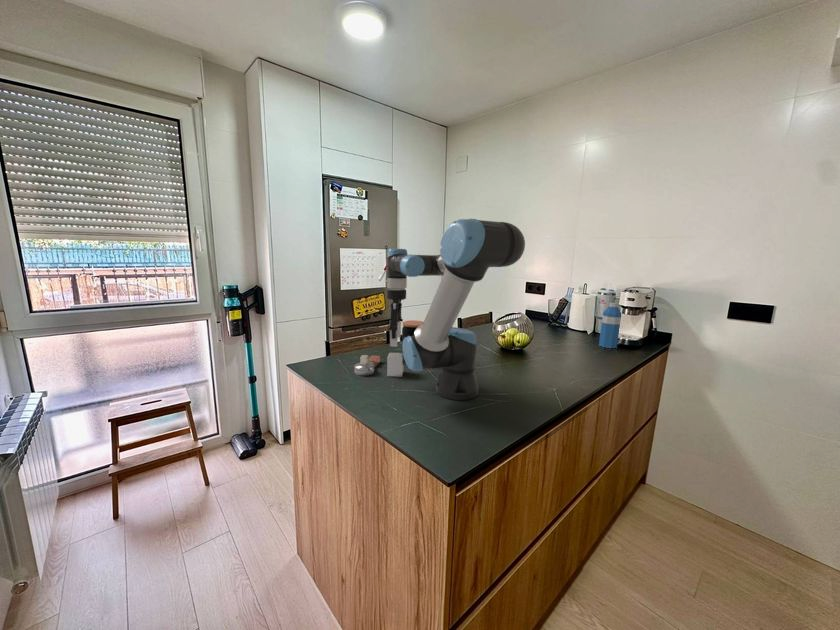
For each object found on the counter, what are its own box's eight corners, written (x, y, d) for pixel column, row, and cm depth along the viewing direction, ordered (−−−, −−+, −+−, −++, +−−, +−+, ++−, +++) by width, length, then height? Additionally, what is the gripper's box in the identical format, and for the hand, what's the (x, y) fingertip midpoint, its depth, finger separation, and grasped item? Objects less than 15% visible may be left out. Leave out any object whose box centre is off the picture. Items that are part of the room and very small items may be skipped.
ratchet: (370, 376, 131) (370, 359, 130) (351, 374, 133) (351, 358, 132) (384, 362, 149) (384, 347, 147) (367, 360, 150) (367, 345, 149)
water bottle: (601, 348, 181) (607, 303, 176) (595, 344, 190) (601, 301, 185) (620, 350, 180) (626, 304, 175) (613, 345, 189) (619, 302, 184)
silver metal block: (403, 371, 138) (403, 353, 137) (402, 376, 132) (402, 357, 131) (389, 370, 138) (389, 352, 137) (387, 376, 132) (387, 357, 131)
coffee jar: (429, 360, 153) (430, 322, 150) (416, 366, 144) (417, 326, 141) (410, 356, 159) (410, 319, 156) (396, 361, 150) (397, 323, 147)
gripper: (391, 285, 141) (390, 333, 145) (382, 292, 117) (381, 350, 121) (408, 285, 141) (407, 333, 145) (403, 293, 116) (402, 351, 121)
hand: (395, 341), depth 133 cm, fingers open, 13 cm apart
